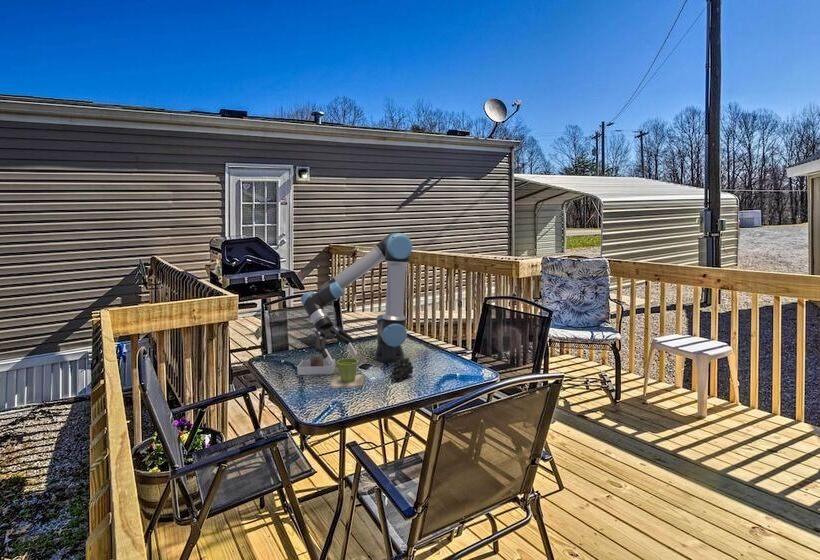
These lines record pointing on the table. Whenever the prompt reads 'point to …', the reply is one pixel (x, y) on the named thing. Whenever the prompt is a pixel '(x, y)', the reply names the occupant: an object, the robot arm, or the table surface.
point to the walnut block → (316, 361)
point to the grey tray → (315, 368)
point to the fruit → (401, 369)
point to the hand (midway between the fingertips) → (343, 359)
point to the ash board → (352, 384)
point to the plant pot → (347, 369)
